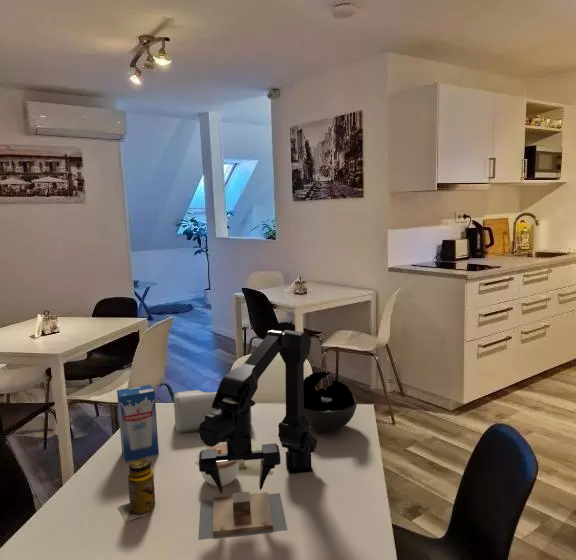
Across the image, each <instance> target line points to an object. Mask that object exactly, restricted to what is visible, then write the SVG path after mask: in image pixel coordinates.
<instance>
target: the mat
mask: <svg viewBox="0 0 576 560" xmlns="http://www.w3.org/2000/svg"><path fill="white" fill-rule="evenodd" d="M268 499H269V505H270V511H271V517H272V523H273V529H270V530H260V531H251V532H242V533H232V534H223V535H214V536H213V499H206V500H200V504H199V506H200V507H199V508H200V509H199V521H198V537H197V538H198V539H197V540H205V539H215V538H216V539H217V538H226V537H232V536H233V537H235V536H243V535H253V534H262V533H271V532H272V533H273V532H280V531H287V530H288V526H287V520H286V517H285V510H284V506H283V500H282V496H281V492H279V493H278V492H276V493H275V492H274V493H268Z"/></svg>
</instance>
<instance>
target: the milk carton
mask: <svg viewBox="0 0 576 560" xmlns="http://www.w3.org/2000/svg"><path fill="white" fill-rule="evenodd" d="M116 393H117V405H118V407H117V408H118V419H119V433H120V442H121V453H122V457H123V460H124V463H128V462H132V461H134V460H136V459H142V458H143V459H147V458H150V457H154V456H157V455H158V456H159V453H160V451H159V450H160V449H159V438H158V437H159V436H158V422H157V407H156V394H155V393H156V391H155V389H154V387H153V386H152V384H145V385H139V386H135V387H128V388H123V389H117V390H116Z"/></svg>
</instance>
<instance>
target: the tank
mask: <svg viewBox="0 0 576 560" xmlns="http://www.w3.org/2000/svg"><path fill="white" fill-rule="evenodd" d="M216 393H217V391H214V392H205V391H201V390H199V389H196V390H187V391H179V392H175V393H174V394H173V406H174V407H173V409H174V422H175V424H174V425H175V432H176V433H178V434H180V435H181V434H188V433H196V432H198V429H199V427H200V424H201V423H202V422H203V421H205V415H207V414H209V413H213V412H214V411H216V410H217V409H214V408H212V407H211V406H212V403H213V401H214V398H215V396H216ZM223 401H224V402H228V403H231V404H232V403H234V401H230V400H226V399H223ZM250 423H252V407H250Z"/></svg>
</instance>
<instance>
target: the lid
mask: <svg viewBox="0 0 576 560" xmlns="http://www.w3.org/2000/svg"><path fill="white" fill-rule="evenodd" d="M268 494H269V493H268V492H266V491H265V492H256V493H250V491H243V492H233V493H232V495H228V496H227V495H226V496H217V497H213V498H212V500H213V536H214V535H223V534H232V533H242V532H251V531H260V530H270V529H273V523H272V517H271V511H270V505H269V499H268Z"/></svg>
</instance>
